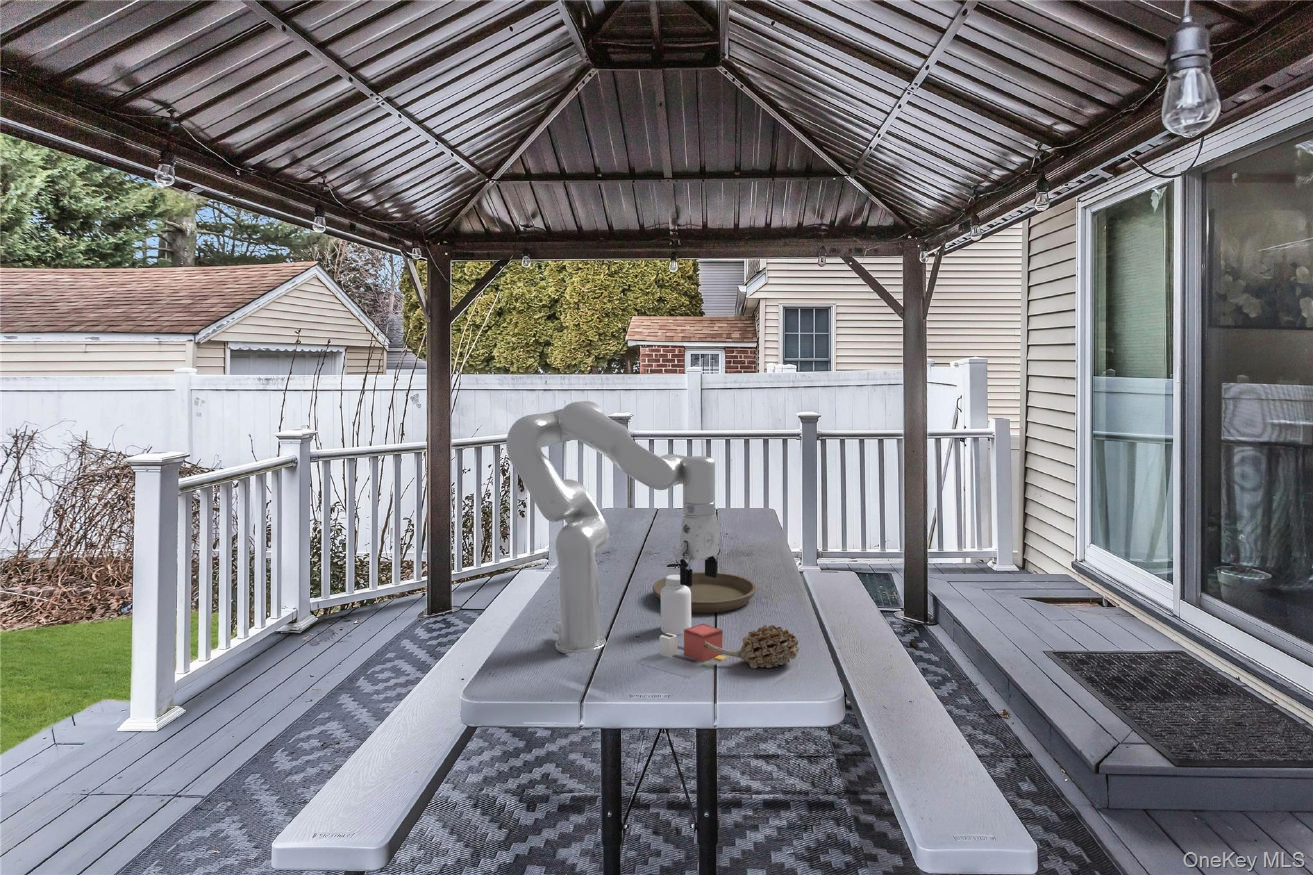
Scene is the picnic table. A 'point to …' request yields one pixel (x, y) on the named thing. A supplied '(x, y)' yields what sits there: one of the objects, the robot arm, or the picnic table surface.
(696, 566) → the picnic table surface
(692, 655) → the cap
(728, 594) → the plant saucer
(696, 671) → the breaker panel
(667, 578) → the pill bottle
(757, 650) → the pine cone
